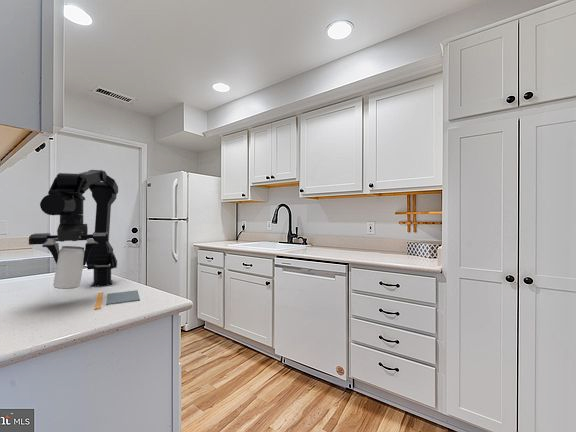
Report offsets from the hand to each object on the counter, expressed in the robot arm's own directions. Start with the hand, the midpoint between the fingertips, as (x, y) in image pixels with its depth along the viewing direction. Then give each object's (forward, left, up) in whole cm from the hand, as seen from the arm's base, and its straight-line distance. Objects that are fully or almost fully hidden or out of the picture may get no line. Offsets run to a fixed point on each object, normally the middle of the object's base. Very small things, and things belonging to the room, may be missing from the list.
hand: (71, 266), depth 86 cm
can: (0, -1, -6) cm, 6 cm away
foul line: (+1, +7, -11) cm, 13 cm away
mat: (+1, +13, -11) cm, 18 cm away
